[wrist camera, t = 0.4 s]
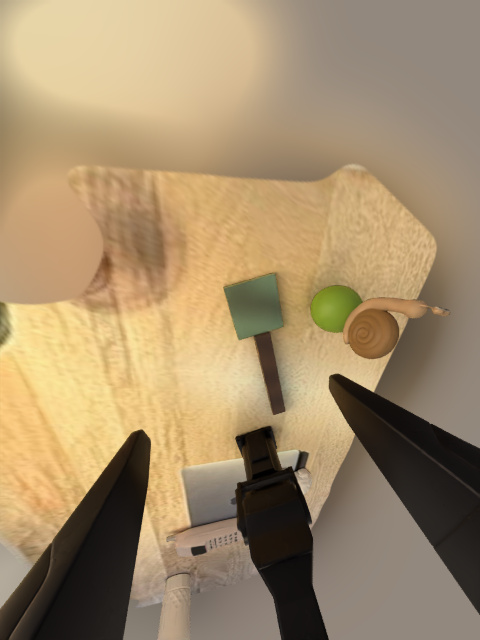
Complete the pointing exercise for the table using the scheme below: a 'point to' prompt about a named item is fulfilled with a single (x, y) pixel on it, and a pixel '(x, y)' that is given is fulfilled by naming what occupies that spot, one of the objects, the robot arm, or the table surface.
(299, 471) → the white animal figurine
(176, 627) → the white cup
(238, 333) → the spatula
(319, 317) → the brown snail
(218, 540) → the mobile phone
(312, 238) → the table surface
